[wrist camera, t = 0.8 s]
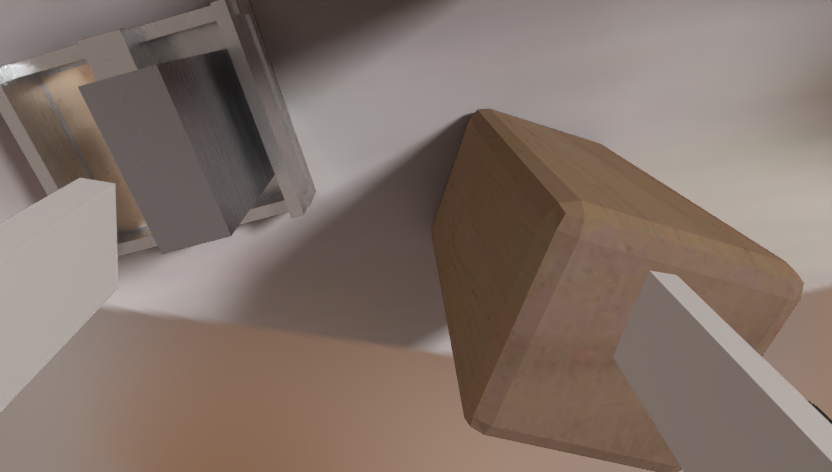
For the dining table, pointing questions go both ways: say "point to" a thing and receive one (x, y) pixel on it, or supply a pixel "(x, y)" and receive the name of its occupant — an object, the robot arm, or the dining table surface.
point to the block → (577, 285)
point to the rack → (164, 126)
